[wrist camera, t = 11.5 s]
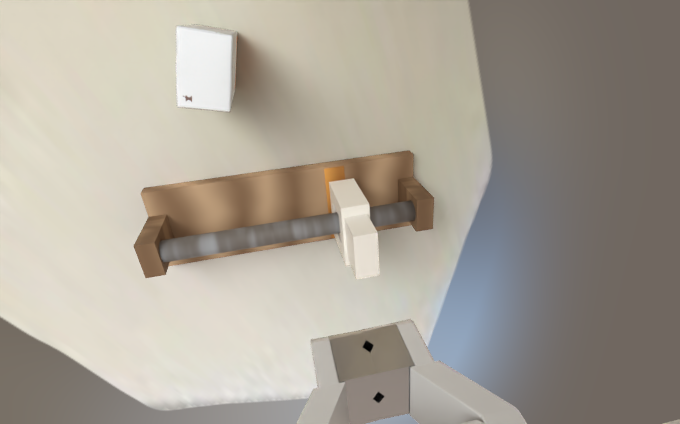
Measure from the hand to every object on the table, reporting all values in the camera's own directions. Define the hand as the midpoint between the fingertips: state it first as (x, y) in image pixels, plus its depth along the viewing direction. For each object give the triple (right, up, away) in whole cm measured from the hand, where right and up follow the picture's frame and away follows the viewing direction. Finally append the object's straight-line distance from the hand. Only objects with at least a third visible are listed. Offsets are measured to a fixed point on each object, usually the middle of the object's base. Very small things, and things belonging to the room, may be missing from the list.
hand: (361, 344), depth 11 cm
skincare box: (-13, +20, +29) cm, 38 cm away
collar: (0, +4, +36) cm, 37 cm away
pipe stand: (-7, +5, +38) cm, 39 cm away
